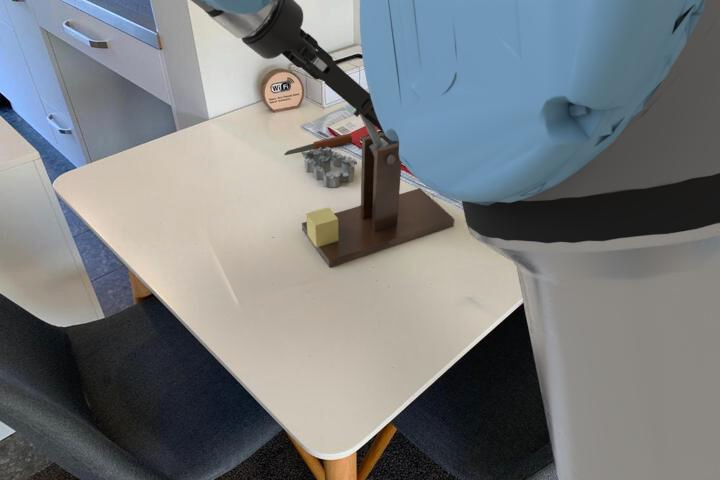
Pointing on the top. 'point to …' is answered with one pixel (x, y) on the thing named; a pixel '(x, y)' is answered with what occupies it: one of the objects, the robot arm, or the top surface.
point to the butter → (322, 227)
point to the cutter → (373, 135)
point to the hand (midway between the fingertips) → (374, 113)
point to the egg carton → (329, 166)
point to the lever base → (382, 210)
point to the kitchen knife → (323, 144)
